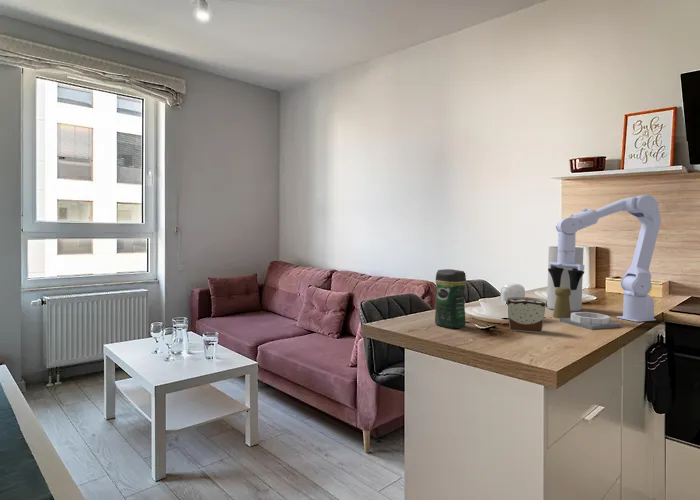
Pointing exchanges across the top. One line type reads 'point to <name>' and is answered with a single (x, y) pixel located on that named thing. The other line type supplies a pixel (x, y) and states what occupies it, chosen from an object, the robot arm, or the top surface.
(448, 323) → the coffee jar
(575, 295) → the cylinder vase
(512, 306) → the food container
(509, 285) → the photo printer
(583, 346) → the top surface
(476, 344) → the top surface
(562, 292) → the cork
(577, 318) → the socket holder
